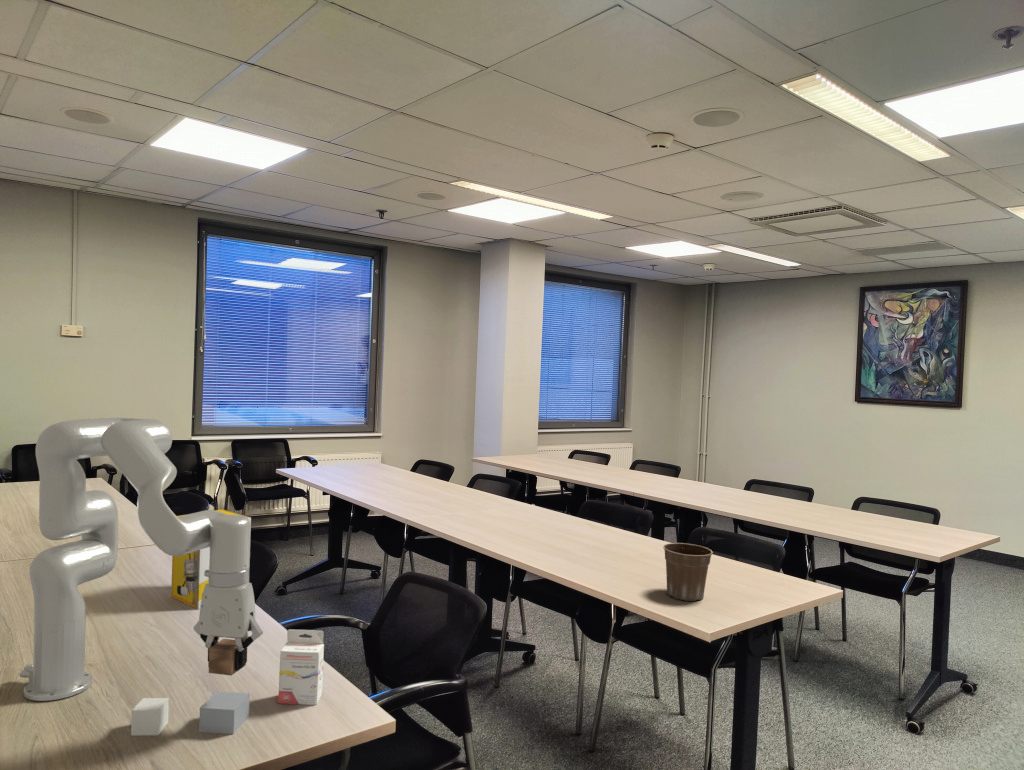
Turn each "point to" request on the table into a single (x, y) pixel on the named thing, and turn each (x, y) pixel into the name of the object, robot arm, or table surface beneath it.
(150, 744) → the table surface
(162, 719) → the pale grey cube
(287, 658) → the ink cartridge box
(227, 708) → the slate base block
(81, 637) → the robot arm
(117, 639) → the table surface
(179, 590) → the packaging box
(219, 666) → the walnut cube
